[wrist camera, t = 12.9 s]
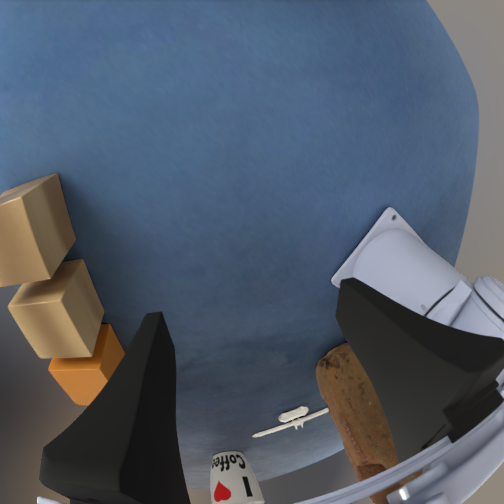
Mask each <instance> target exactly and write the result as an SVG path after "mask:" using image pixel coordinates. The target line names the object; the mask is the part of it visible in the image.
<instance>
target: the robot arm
mask: <svg viewBox="0 0 504 504" xmlns="http://www.w3.org/2000/svg"><path fill="white" fill-rule="evenodd" d="M393 215H394V217H393ZM392 217H393V218H392ZM331 282H332V283H333V285H335V286H336V287H338V288H340V290H339V297H338V304H337V310H336V319H337V321H338V324H339V326H340V328H341V331H342V333H343V335H344V337H345V339H346V340H347V342H348V344H349V345H350V347H351V349H352V350H353V352H354V354H355V355H356V357H357V359H358V360H359V362H360V363H361V365H362V367H363V368H364V370H365V372H366V373H367V375H368V377H369V379H370V381H371V383H372V385H373V387H374V389H375V392H376V394H377V396H378V399H379V401H380V404H381V406H382V409H383V411H384V414H385V417H386V420H387V423H388V426H389V429H390V432H391V436H392V439H393V443H394V447H395V451H396V455H397V460H398V462H399V464H398V465H396V466H394V467H392V468H390V469H388V470H386V471H383V472H381V473H379V474H377V475H375V476H373V477H370V478H368V479H366V480H363V481H361V482H358V483H356V484H353V485H351V486H348V487H346V488H343V489H340V490H337V491H334V492H331V493H329V494H325V495H323V496H319V497H316V498H313V499H309V500H306V501H302V502H298V503H295V504H352V503H355V502H357V501H360V500H362V499H364V498H367V497H369V496H371V495H374V494H376V493H378V492H380V491H382V490H384V489H387V488H389V487H391V486H393V485H395V484H397V483H399V482H400V481H402V480H404V479H406V478H408V477H410V476H411V475H413V474H415V473H417V472H419V471H420V470H422V469H423V471H422V475H420V476H418V477H417V478H415V479H413V480H412V481H410V482H408V483H406V484H405V485H404V486H402V487H401V488H399V489H397V490H396V491H394V492H392V493H390V494H388V495H387V499H388V501H389V504H462V503H463V502H464V501H465V500H466V499H468V498H469V497H470V496H471V495H472V494H473V493H474V492H475V491H476V490H477V489H478V488H479V487H480V486H481V485H482V484H483V483H484V482H485V481H486V480H487V479H488V478H489V477H490V476H491V475H492V474H493V473H494V472H495V471H496V470H497V468H498V467H499V466H500V465H501V464H502V463H503V462H504V284H503V283H501V282H500V281H498V280H497V279H495V278H493V277H492V276H489V275H488V276H484V277H478V278H477V279H476V281H475V282H474V283H471V282H470V281H469V280H468V279H467V278H465V277H464V276H463V275H462V274H461V273H460V272H459V271H457V270H456V269H455V268H454V267H453V266H451V265H450V264H449V263H448V262H447V261H445V260H444V259H443V258H442V257H440V256H439V255H438V254H437V253H435V252H434V251H433V250H432V249H430V248H429V247H428V246H427V245H426V244H425V243H424V242H423V241H422V239H421V238H420V237H419V236H418V235H417V234H416V233H415V231H414V230H413V229H412V228H411V227H410V226H409V225H408V224H407V223H406V221H405V220H404V219H403V218H402V217H401V216H400V215H399V214H398V213H397V212H396V211H395V210H394V209H393V208H391V207H389V208H387V209H386V210H385V211H384V213H383V214H382V215H381V217H380V218H379V219H378V221H377V222H376V223H375V225H374V226H373V227H372V229H371V230H370V231H369V232H368V234H367V235H366V236H365V238H364V239H363V240H362V241H361V243H360V244H359V245H358V246H357V248H356V249H355V250H354V251H353V253H352V254H351V255H350V256H349V258H348V259H347V260H346V261H345V263H344V264H343V265H342V266H341V267H340V269H339V270H338V271H337V272H336V273H335V275H334V276H333V277H332V279H331ZM39 480H40V482H41V483H42V484H43V485H44V486H46V487H48V488H49V489H51V490H53V491H55V492H57V493H59V494H61V495H63V496H65V497H67V498H69V499H70V504H191V503H190V500H189V495H188V492H187V488H186V483H185V479H184V474H183V469H182V464H181V458H180V452H179V445H178V438H177V430H176V360H175V349H174V345H173V342H172V339H171V337H170V334H169V331H168V328H167V325H166V323H165V320H164V317H163V314H162V311H161V312H154V313H147V314H146V315H145V317H144V319H143V321H142V323H141V325H140V327H139V329H138V330H137V332H136V334H135V336H134V338H133V340H132V342H131V344H130V345H129V347H128V349H127V351H126V353H125V354H124V356H123V358H122V359H121V361H120V363H119V364H118V366H117V368H116V369H115V371H114V373H113V374H112V376H111V377H110V379H109V380H108V381H107V383H106V384H105V386H104V387H103V388H102V390H101V391H100V392H99V394H98V395H97V396H96V397H95V399H94V400H93V401H92V402H91V403H90V405H89V406H88V407H87V408H86V409H85V410H84V412H83V413H82V414H81V415H80V416H79V417H78V418H77V419H76V420H75V421H74V422H73V423H72V424H71V425H70V426H69V427H68V428H67V429H65V430H64V432H62V433H61V434H60V435H58V436H57V437H56V438H55V439H54V440H52V441H51V442H50V443H49V444H47V445H46V446H45V447H44V448H43V453H42V459H41V467H40V477H39ZM37 504H65V503H61V502H57V501H54V500H50V499H47V498H43V497H40V496H39V497H37Z"/></svg>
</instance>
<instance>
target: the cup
mask: <svg viewBox="0 0 504 504" xmlns="http://www.w3.org/2000/svg"><path fill="white" fill-rule="evenodd" d="M210 490H211V500H212V504H263V503H264V499H263V496H262V494H261V491H260V488H259V485H258V482H257V479H256V477H255V475H254V473H253V471H252V469H251V466H250V464H249V463H248V461H247V460H246V458H245V457H244V455H243V453H241V452H238V451H228V452H222V453H218V454H216V455H214V456H213V461H212V466H211V476H210Z"/></svg>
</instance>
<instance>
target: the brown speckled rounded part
mask: <svg viewBox="0 0 504 504" xmlns="http://www.w3.org/2000/svg"><path fill="white" fill-rule="evenodd" d="M316 378H317V383H318V387H319V391H320V394H321V396H322V399H323V401H325V402H326V403H327V405H328V409H329V414H330V416H331V418H332V420H333V421H334V423H335V425H336V427H337V429H338V431H339V433H340V436H341V438H342V442H343V445H344V448H345V450H346V453H347V455H348V457H349V459H350V460H351V464H352V467H353V469H354V471H355V473H356V475H357V477H358V479H359V481H360V482H361V481H363V480H366V479H368V478H370V477H373V476H375V475H377V474H379V473H381V472H383V471H386V470H388V469H390V468H392V467H394V466H396V465H398V464H399V462H398V460H397V455H396V451H395V447H394V443H393V439H392V436H391V432H390V429H389V426H388V423H387V420H386V417H385V414H384V411H383V409H382V406H381V404H380V401H379V399H378V396H377V394H376V392H375V389H374V387H373V385H372V383H371V381H370V379H369V377H368V375H367V373H366V372H365V370H364V368H363V367H362V365H361V363H360V362H359V360H358V359H357V357H356V355H355V354H354V352H353V350H352V349H351V347H350V345H349V344H348V343H344V344H342V345H340V346H338V347H336V348H334V349H332V350H330V351H329V352H328V353H327V355H326V356H324V357H323V358H321V359H320V360H319V362H318V364H317V367H316ZM422 471H423V469H422V470H420V471H419V472H417V473H415V474H413V475H411V476H410V477H408V478H406V479H404V480H402V481H400V482H399V483H397V484H395V485H393V486H391V487H389V488H387V489H384V490H382V491H380V492H378V493H376V494H374V495H371V496H369V497H370V498H371V499H372V501H373V503H375V504H389V501H388V499H387V495H388V494H390V493H392V492H394V491H396V490H397V489H399V488H401V487H402V486H404V485H405V484H406V483H408V482H410V481H412V480H413V479H415V478H417V477H418V476H420V475H422Z"/></svg>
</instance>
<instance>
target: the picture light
mask: <svg viewBox="0 0 504 504" xmlns="http://www.w3.org/2000/svg"><path fill="white" fill-rule="evenodd" d="M307 412H308V408H307V407H303V406H301V407H299V408H298V409H295V410H292V411H290V412H287V413H282V414H281V416H279V417H278V419H279V420H280V421H281V422H287V421H289V420H292V422H289V423H286V424H284V425H281V426H278V427H275V428H272V429H268V430H265V431H262V432H258V434H257V433H256V434H254V435H253V436H252V437H258V436H259V437H261V436H263V435H266V434H269V433H272V432H275V431H279V430H282V429H284V428H287V427H290V426H293V425H294V426H295V428H296V430H298V428H297V426H299V425H301V426H302V428H303V424H304V423H303V422H304V421H306V420H309V419H312V418H314V417H317V416H319V415H322V414H324V413H326V412H329V409H328V408H325V409H323V410H321V411H318V412H316V413H313V414H311V415H308V416H305V415H306V413H307ZM300 416H305V417H303V418H300V419H299V417H300ZM297 417H298V420H295V421H293V419H294V418H297Z"/></svg>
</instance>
